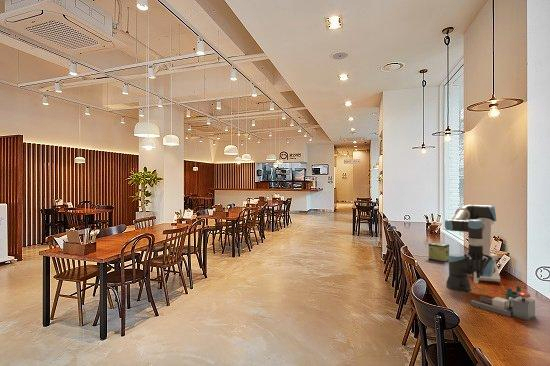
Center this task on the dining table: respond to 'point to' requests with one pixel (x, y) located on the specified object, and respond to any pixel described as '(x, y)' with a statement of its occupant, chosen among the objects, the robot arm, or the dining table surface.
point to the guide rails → (489, 307)
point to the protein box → (439, 252)
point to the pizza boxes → (495, 274)
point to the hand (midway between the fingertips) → (476, 282)
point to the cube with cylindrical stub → (499, 302)
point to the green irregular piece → (512, 293)
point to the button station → (522, 306)
